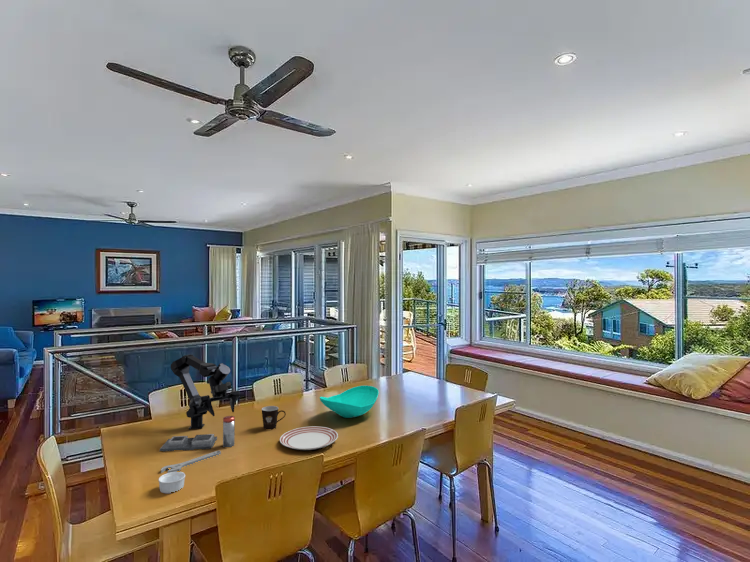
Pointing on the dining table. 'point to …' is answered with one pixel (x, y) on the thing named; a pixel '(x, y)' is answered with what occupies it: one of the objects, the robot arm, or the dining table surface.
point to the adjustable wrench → (188, 462)
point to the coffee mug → (270, 416)
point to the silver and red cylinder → (228, 431)
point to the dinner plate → (308, 438)
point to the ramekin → (171, 482)
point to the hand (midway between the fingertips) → (223, 413)
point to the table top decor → (352, 401)
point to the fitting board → (189, 442)
